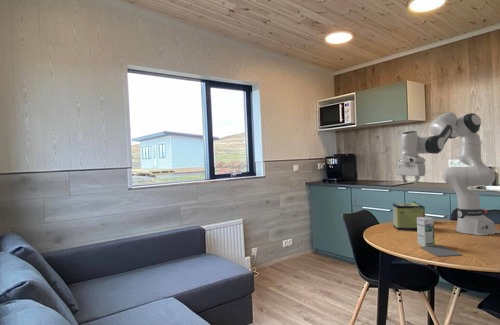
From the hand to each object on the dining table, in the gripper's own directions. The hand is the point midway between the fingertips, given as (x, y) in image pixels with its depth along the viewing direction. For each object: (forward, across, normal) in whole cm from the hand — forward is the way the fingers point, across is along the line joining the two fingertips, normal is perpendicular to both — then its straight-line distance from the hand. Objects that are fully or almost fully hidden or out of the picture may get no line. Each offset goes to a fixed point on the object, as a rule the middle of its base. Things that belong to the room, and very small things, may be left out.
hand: (410, 183), depth 181 cm
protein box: (+31, -22, +14) cm, 40 cm away
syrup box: (+32, +14, -2) cm, 35 cm away
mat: (+32, +25, -3) cm, 40 cm away
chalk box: (+30, -36, +31) cm, 56 cm away
